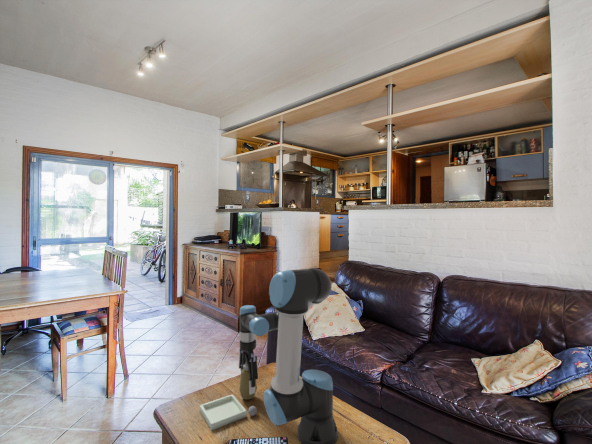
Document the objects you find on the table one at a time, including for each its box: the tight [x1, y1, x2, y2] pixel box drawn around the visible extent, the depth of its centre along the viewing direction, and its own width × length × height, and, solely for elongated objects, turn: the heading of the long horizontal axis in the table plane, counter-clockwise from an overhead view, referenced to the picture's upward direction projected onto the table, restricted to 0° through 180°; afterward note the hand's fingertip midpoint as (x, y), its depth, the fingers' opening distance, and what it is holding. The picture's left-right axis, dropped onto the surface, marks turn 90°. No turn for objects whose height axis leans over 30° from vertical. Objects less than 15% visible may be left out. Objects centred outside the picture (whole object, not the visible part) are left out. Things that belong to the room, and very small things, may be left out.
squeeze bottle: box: [239, 361, 258, 400], centre depth 139 cm, size 8×8×18 cm
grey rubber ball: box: [247, 405, 258, 417], centre depth 126 cm, size 4×4×4 cm
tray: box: [199, 394, 248, 432], centre depth 127 cm, size 15×15×2 cm
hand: (248, 389), depth 139 cm, fingers closed on squeeze bottle, 8 cm apart
